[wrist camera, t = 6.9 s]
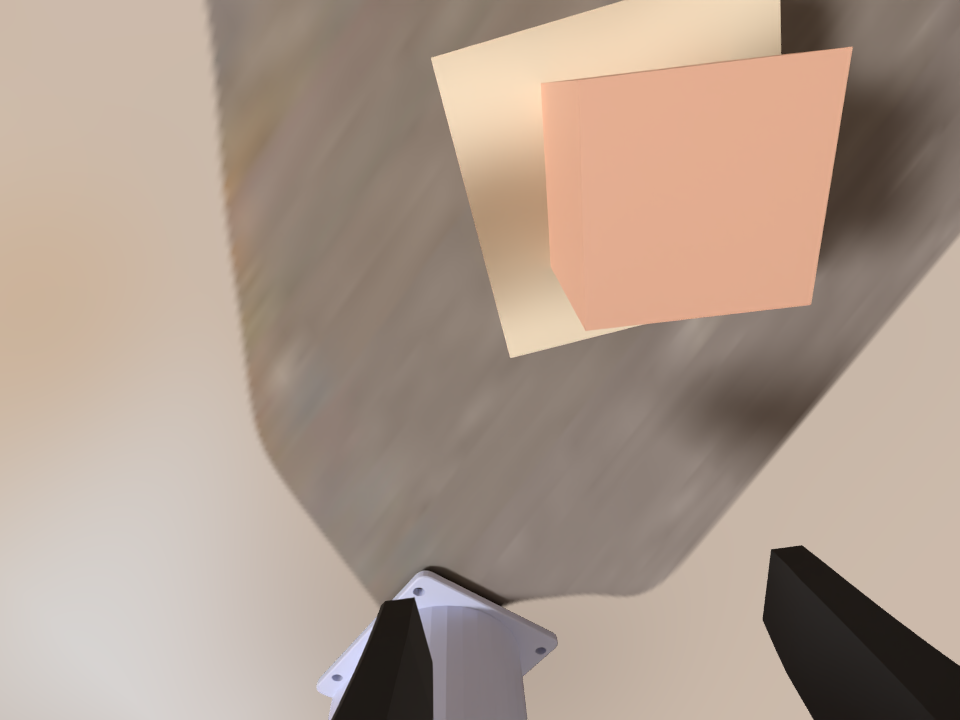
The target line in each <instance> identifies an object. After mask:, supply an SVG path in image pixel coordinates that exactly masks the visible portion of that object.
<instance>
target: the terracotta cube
mask: <svg viewBox="0 0 960 720" xmlns="http://www.w3.org/2000/svg"><path fill="white" fill-rule="evenodd" d="M852 48H853V47H846V48H837V49H828V50H819V51H810V52H800V53H791V54H782V55H773V56H764V57H755V58H746V59H737V60H728V61H720V62H712V63H703V64H695V65H687V66H679V67H671V68H662V69H654V70H646V71H638V72H630V73H621V74H613V75H605V76H597V77H589V78H580V79H572V80H564V81H556V82H548V83H541V100H542V118H543V136H544V154H545V173H546V191H547V209H548V227H549V245H550V263H551V268H552V270H553V272H554V274H555V276H556V277H557V279H558V281H559V283H560V285H561V287H562V289H563V290H564V292H565V294H566V296H567V298H568V300H569V302H570V303H571V305H572V307H573V309H574V311H575V313H576V314H577V316H578V318H579V320H580V322H581V324H582V326H583V327H584V329H585V331H590V330H598V329H607V328H616V327H624V326H633V325H641V324H650V323H659V322H667V321H676V320H684V319H693V318H701V317H710V316H719V315H727V314H736V313H744V312H753V311H762V310H770V309H779V308H787V307H796V306H804V305H811V301H812V295H813V289H814V283H815V276H816V270H817V264H818V258H819V252H820V246H821V239H822V233H823V227H824V221H825V215H826V209H827V202H828V196H829V190H830V184H831V178H832V172H833V165H834V159H835V153H836V147H837V141H838V135H839V128H840V122H841V116H842V110H843V104H844V98H845V91H846V85H847V79H848V73H849V67H850V61H851V54H852Z"/></svg>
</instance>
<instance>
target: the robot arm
mask: <svg viewBox="0 0 960 720" xmlns="http://www.w3.org/2000/svg"><path fill="white" fill-rule="evenodd" d="M417 588H422V589H417ZM763 622H764V624H765V626H766V629H767V631H768V633H769V635H770V638H771V640H772V642H773V644H774V647H775V649H776V651H777V653H778V655H779V657H780V660H781V662H782V664H783V666H784V668H785V670H786V673H787V674H788V676H789V678H790V679H791V681H792V683H793V685H794V686H795V688H796V690H797V691H798V693H799V695H800V697H801V699H802V700H803V702H804V704H805V706H806V707H807V709H808V711H809V712H810V714H811V716H812V718H813V719H814V720H960V666H959V665H958V664H956V663H955V662H953V661H952V660H951V659H949V658H948V657H946V656H945V655H943V654H942V653H941V652H939V651H938V650H937V649H935V648H934V647H933V646H931V645H930V644H928V643H927V642H926V641H924V640H923V639H922V638H920V637H919V636H917V635H916V634H915V633H914V632H912V631H911V630H910V629H908V628H907V627H906V626H904V625H903V624H902V623H900V622H899V621H898V620H896V619H895V618H894V617H892V616H891V615H890V614H889V613H887V612H886V611H885V610H883V609H882V608H881V607H880V606H878V605H877V604H876V603H874V602H873V601H872V600H871V599H869V598H868V597H867V596H865V595H864V594H863V593H862V592H860V591H859V590H858V589H857V588H855V587H854V586H853V585H851V584H850V583H849V582H848V581H846V580H845V579H844V578H843V577H841V576H840V575H839V574H838V573H836V572H835V571H834V570H833V569H831V568H830V567H829V566H828V565H826V564H825V563H824V562H822V561H821V560H820V559H819V558H818V557H816V556H815V555H814V554H812V553H811V552H810V551H808V550H807V549H806V548H805V547H804V546H802V545H801V546H794V547H787V548H779V549H772V550H771V556H770V563H769V572H768V580H767V588H766V596H765V604H764V613H763ZM557 644H558V642H557V637H556V635H555V634H554V633H553V632H551V631H549V630H547V629H545V628H543V627H541V626H539V625H536V624H535V623H533V622H531V621H529V620H527V619H525V618H523V617H521V616H518V615H517V614H515V613H513V612H511V611H509V610H507V609H505V608H503V607H501V606H499V605H497V604H495V603H493V602H491V601H489V600H487V599H485V598H483V597H481V596H479V595H477V594H475V593H473V592H471V591H469V590H467V589H465V588H463V587H461V586H459V585H457V584H455V583H453V582H451V581H449V580H447V579H445V578H443V577H441V576H439V575H437V574H435V573H433V572H431V571H421V572H419V573H417V574H416V575H415V576H414V577H413V578H412V579H411V580H410V581H409V582H408V584H407V585H406V586H405V587H404V588H403V589H402V590H401V591H400V592H399V593H398V594H397V595H396V596H395V598H394V599H393V600H391V601H385V602H384V603H383V604H382V605H381V607H380V610H379V613H378V615H377V617H376V618H375V619H374V620H373V621H372V622H371V623H370V624H369V626H368V627H367V628H366V629H365V630H364V631H363V632H362V633H361V634H360V635H359V636H358V637H357V638H356V640H355V641H354V642H353V643H352V644H351V645H350V646H349V647H348V648H347V649H346V650H345V651H344V653H342V655H341V656H340V657H339V658H338V659H337V660H336V661H335V662H334V663H333V664H332V665H331V666H330V667H329V669H328V670H327V671H326V672H325V673H324V674H323V675H322V676H321V677H320V678H319V680H318V683H317V690H318V691H319V692H320V693H321V694H323V695H326V696H329V697H331V698H332V703H331V709H330V713H329V718H328V720H527V713H526V704H525V695H524V687H523V678H522V677H523V676H524V675H525V674H526V673H527V672H528V671H529V670H531V669H532V668H533V667H534V666H535V665H536V664H538V663H539V662H540V661H541V660H542V659H543V658H544V657H546V656H547V655H548V654H549V653H550V652H551V651H552V650H554V649H555V648H556V646H557Z"/></svg>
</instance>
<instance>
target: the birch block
mask: <svg viewBox="0 0 960 720" xmlns="http://www.w3.org/2000/svg"><path fill="white" fill-rule="evenodd" d="M773 55H781V15H780V0H624V1H621V2H617V3H614V4H611V5H607V6H604V7H601V8H597V9H594V10H590V11H587V12H584V13H580V14H577V15H574V16H570V17H567V18H564V19H560V20H557V21H554V22H550V23H547V24H543V25H540V26H537V27H533V28H530V29H527V30H523V31H520V32H517V33H513V34H510V35H506V36H503V37H500V38H496V39H493V40H490V41H486V42H483V43H480V44H476V45H473V46H470V47H466V48H463V49H459V50H456V51H453V52H449V53H446V54H443V55H439V56H436V57H433V58H431V60H432V64H433V68H434V71H435V75H436V79H437V83H438V86H439V90H440V94H441V98H442V102H443V105H444V109H445V113H446V117H447V120H448V124H449V128H450V132H451V136H452V139H453V143H454V147H455V151H456V154H457V158H458V162H459V166H460V170H461V173H462V177H463V181H464V185H465V188H466V192H467V196H468V200H469V204H470V207H471V211H472V215H473V219H474V223H475V226H476V230H477V234H478V238H479V241H480V245H481V249H482V253H483V257H484V260H485V264H486V268H487V272H488V275H489V279H490V283H491V287H492V291H493V294H494V298H495V302H496V306H497V309H498V313H499V317H500V321H501V325H502V328H503V332H504V336H505V340H506V343H507V347H508V351H509V355H510V358H512V357H516V356H520V355H524V354H528V353H532V352H536V351H540V350H544V349H548V348H552V347H556V346H560V345H564V344H568V343H572V342H576V341H580V340H584V339H588V338H591V337H595V336H599V335H603V334H607V333H611V332H615V331H619V330H623V329H627V328H631V327H635V326H639V325H633V326H624V327H616V328H607V329H598V330H590V331H585V329H584V327H583V326H582V324H581V322H580V320H579V318H578V316H577V314H576V313H575V311H574V309H573V307H572V305H571V303H570V302H569V300H568V298H567V296H566V294H565V292H564V290H563V289H562V287H561V285H560V283H559V281H558V279H557V277H556V276H555V274H554V272H553V270H552V268H551V263H550V245H549V227H548V209H547V191H546V173H545V154H544V136H543V118H542V100H541V83H548V82H556V81H564V80H572V79H580V78H589V77H597V76H605V75H613V74H621V73H630V72H638V71H646V70H654V69H662V68H671V67H679V66H687V65H695V64H703V63H712V62H720V61H728V60H737V59H746V58H755V57H764V56H773ZM641 325H643V324H641Z"/></svg>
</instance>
